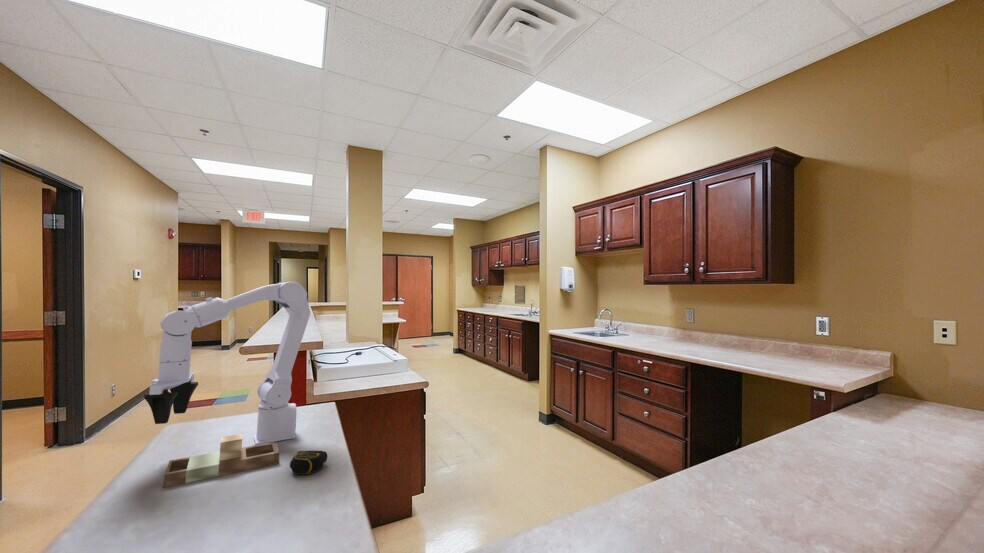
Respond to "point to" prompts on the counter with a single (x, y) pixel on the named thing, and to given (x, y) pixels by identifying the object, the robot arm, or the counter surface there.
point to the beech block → (230, 447)
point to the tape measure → (308, 461)
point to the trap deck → (219, 464)
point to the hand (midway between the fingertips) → (171, 418)
